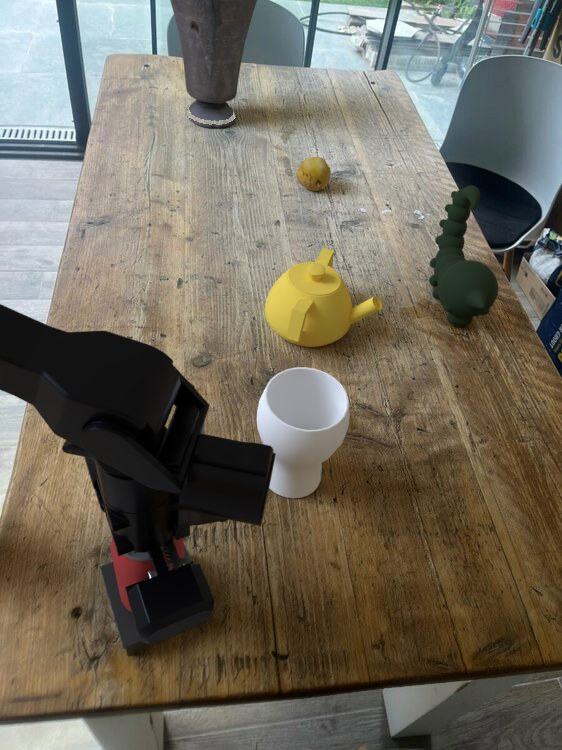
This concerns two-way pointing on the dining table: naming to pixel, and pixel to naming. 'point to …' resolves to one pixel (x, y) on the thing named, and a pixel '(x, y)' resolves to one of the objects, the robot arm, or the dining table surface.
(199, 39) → the vase
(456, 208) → the toy figurine
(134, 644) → the block
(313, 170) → the fruit
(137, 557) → the beer can
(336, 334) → the teapot
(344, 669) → the dining table surface
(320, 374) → the cup
